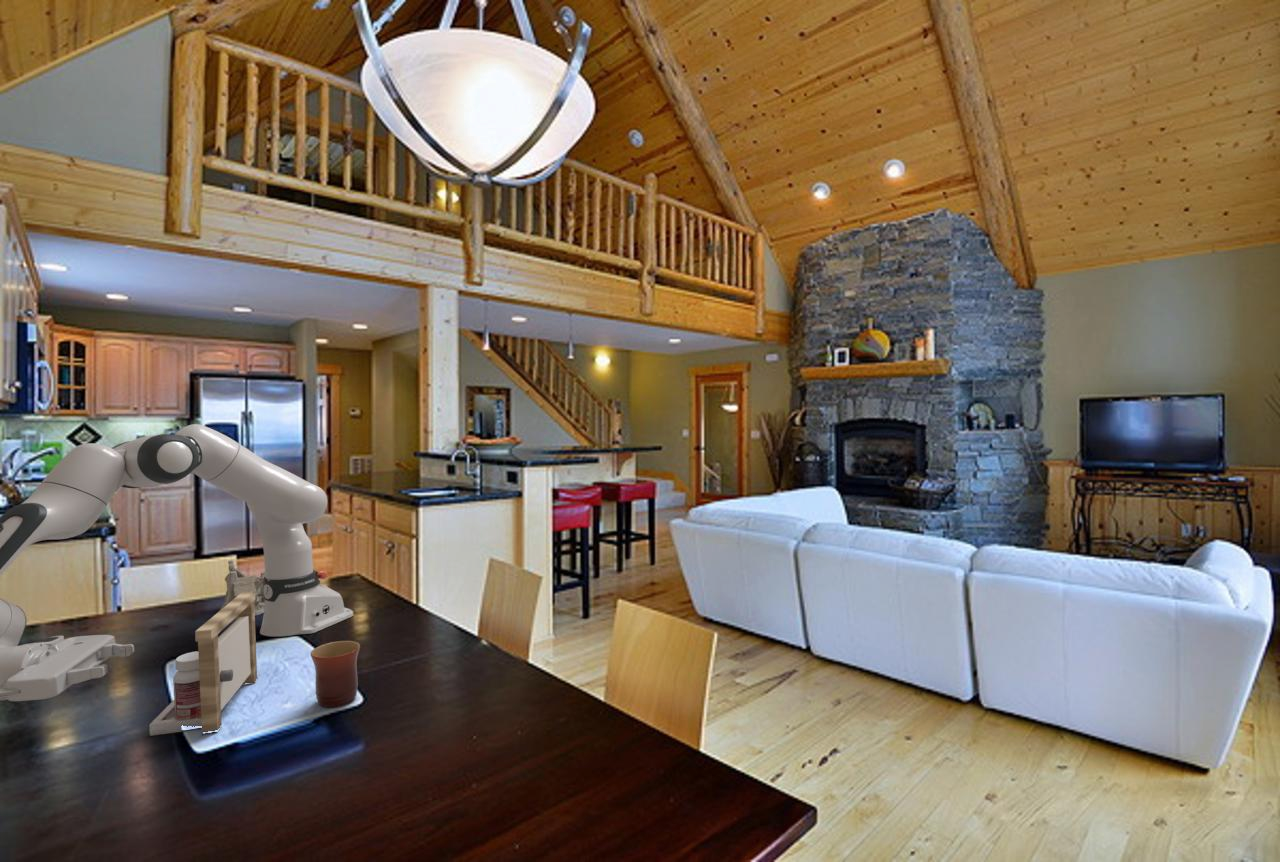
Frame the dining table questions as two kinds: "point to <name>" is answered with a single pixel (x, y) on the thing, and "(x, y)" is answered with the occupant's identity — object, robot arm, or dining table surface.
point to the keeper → (171, 721)
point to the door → (233, 658)
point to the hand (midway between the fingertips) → (119, 659)
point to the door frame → (210, 656)
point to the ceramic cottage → (244, 587)
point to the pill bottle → (187, 686)
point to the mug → (336, 672)
